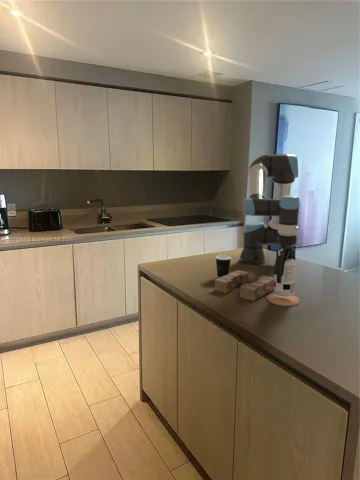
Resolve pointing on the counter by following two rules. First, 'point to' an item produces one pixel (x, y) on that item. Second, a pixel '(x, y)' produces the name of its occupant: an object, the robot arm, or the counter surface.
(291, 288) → the supplement can
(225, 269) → the dixie cup
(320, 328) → the counter surface
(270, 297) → the peach smooth rounded piece
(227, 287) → the walnut caddy
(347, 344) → the counter surface
